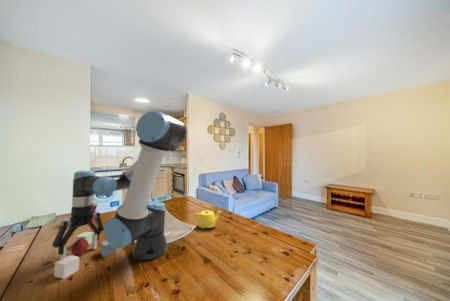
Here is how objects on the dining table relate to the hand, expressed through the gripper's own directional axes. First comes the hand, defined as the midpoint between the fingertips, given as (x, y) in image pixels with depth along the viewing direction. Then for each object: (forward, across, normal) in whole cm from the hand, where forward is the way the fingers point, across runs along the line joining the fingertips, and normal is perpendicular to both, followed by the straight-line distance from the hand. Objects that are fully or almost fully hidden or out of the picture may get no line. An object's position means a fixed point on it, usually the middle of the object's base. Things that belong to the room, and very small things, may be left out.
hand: (79, 254), depth 74 cm
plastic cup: (+1, -21, -39) cm, 44 cm away
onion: (+1, 0, 0) cm, 1 cm away
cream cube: (+1, +8, +9) cm, 12 cm away
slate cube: (+1, -7, +9) cm, 11 cm away
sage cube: (+1, -6, -9) cm, 11 cm away
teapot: (+1, -54, +35) cm, 64 cm away
